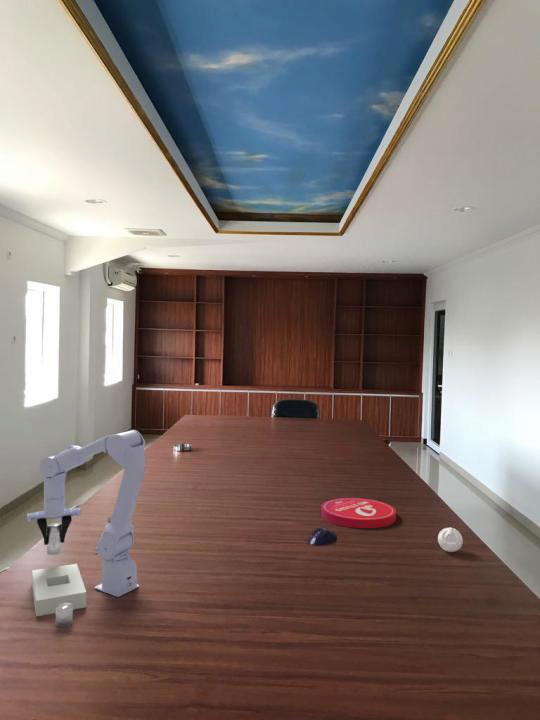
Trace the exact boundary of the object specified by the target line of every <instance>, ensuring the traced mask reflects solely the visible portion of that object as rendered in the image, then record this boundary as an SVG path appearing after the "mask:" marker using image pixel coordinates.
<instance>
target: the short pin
mask: <svg viewBox="0 0 540 720" xmlns="http://www.w3.org/2000/svg"><path fill="white" fill-rule="evenodd" d="M54 614H55V615H54V617H55V618H54V619H55V620H54V621H55V622H54V625H55V626H56V627H58V628H65V627H68V626H71V625H72V624H73V622H74V621H73V619H74V610H73V604H71V603H62V604H59V605H57V606H56V613H54Z"/></svg>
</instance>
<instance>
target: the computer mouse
mask: <svg viewBox="0 0 540 720" xmlns="http://www.w3.org/2000/svg"><path fill="white" fill-rule="evenodd" d="M336 537H337V534H336V533H335V531H331V530H329V529H327V528H326V527H323V528H321V527H317V528H315V529H314V531H313V533H312V535H311V536H309V537H308V538H307V544H309V545H311V546H315V547H317V546H318V547H319V546H325V545H328V544H330V543H332V542H334V541H335V540H336Z"/></svg>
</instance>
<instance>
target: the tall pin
mask: <svg viewBox="0 0 540 720" xmlns="http://www.w3.org/2000/svg"><path fill="white" fill-rule="evenodd" d="M61 534H62V523H59V522H58V523H54V522H53V523H50V524H47V545H46V554H47V555H48V556H56V555H59V554H61V553H62V542H61Z"/></svg>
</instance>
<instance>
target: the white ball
mask: <svg viewBox="0 0 540 720" xmlns="http://www.w3.org/2000/svg"><path fill="white" fill-rule="evenodd" d="M463 539H464V538H463V536H462V534H461V533H460V531H459V530H457V528H453V527H444V528H443V529H442V530H441V529H440V531H439V533H438V536H437V543H438V544H439V546H440V548H442V550H443V551H446V552H448V553H454V552H457V551H459V550H460V549H461V548H462V546H463V543H464V542H463Z"/></svg>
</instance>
